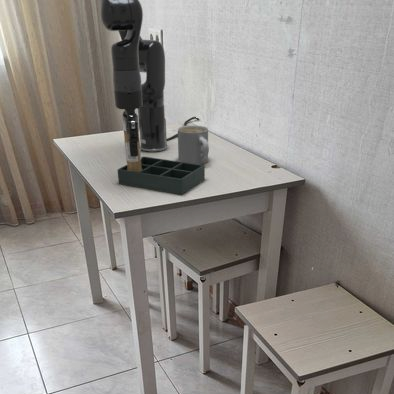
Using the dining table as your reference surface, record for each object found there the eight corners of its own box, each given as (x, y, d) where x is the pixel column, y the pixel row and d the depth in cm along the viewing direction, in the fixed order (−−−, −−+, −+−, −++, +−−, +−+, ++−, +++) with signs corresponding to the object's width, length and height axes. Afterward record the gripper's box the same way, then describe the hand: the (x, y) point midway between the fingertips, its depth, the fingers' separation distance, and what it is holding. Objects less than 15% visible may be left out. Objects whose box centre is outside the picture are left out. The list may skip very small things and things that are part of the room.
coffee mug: (174, 158, 164) (173, 126, 158) (201, 155, 167) (201, 124, 160) (187, 169, 154) (187, 136, 148) (216, 166, 157) (216, 133, 151)
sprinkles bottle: (145, 170, 144) (141, 121, 136) (137, 174, 141) (133, 125, 132) (131, 168, 145) (127, 120, 137) (124, 172, 142) (119, 123, 134)
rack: (144, 170, 154) (143, 156, 151) (204, 179, 146) (204, 165, 143) (118, 184, 144) (117, 169, 141) (182, 195, 136) (181, 179, 133)
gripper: (111, 84, 134) (118, 148, 145) (116, 93, 123) (123, 161, 134) (138, 83, 136) (142, 146, 146) (145, 92, 125) (149, 159, 135)
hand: (133, 153), depth 140 cm, fingers closed on sprinkles bottle, 4 cm apart
